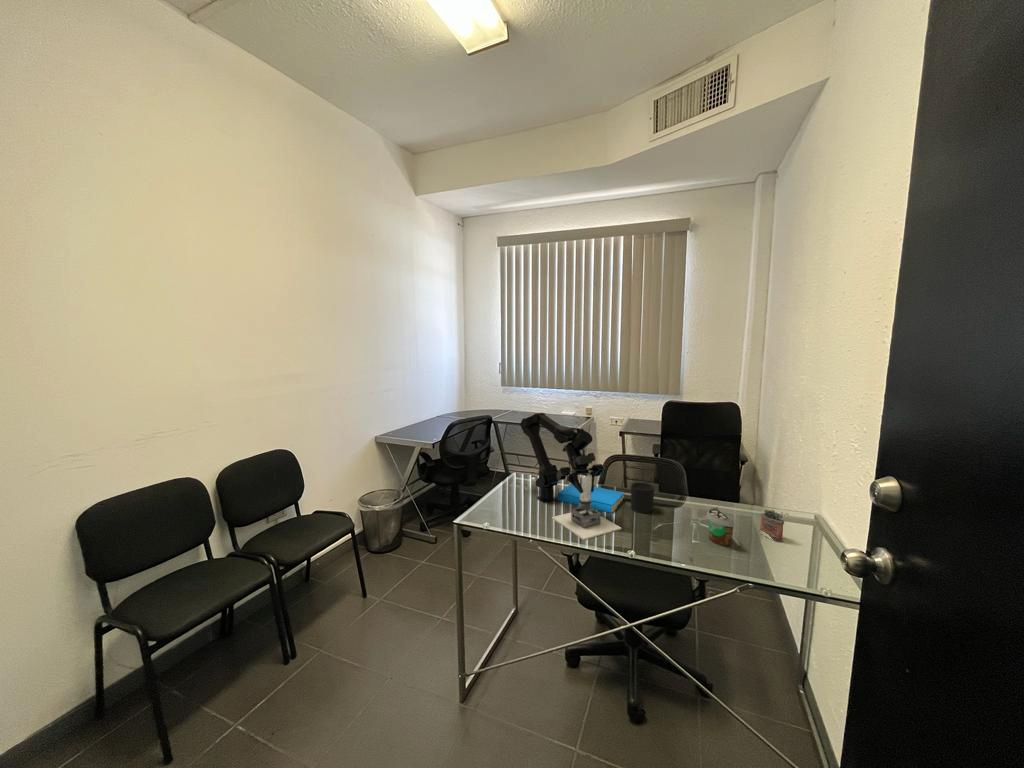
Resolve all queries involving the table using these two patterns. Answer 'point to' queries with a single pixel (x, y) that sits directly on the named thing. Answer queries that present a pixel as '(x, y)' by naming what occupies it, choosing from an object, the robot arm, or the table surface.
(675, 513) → the table surface
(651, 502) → the pen holder
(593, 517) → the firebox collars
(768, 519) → the lighter
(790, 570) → the table surface
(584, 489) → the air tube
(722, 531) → the food container
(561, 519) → the tile
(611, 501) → the book
